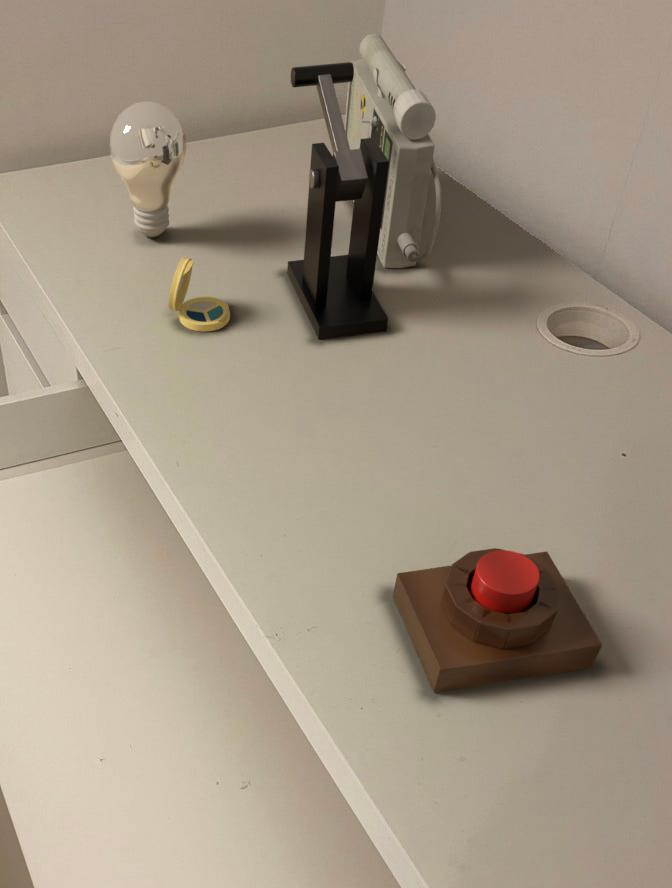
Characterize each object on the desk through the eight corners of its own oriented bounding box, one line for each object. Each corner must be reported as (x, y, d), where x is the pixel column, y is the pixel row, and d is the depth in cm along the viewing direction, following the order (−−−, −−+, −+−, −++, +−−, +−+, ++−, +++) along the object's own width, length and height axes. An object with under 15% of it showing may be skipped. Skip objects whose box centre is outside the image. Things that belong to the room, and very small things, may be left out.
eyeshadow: (221, 334, 83) (222, 281, 79) (166, 326, 84) (163, 272, 80) (235, 307, 86) (236, 254, 82) (181, 299, 87) (180, 246, 83)
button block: (538, 574, 64) (554, 530, 61) (592, 668, 59) (612, 624, 56) (392, 596, 63) (400, 552, 60) (433, 693, 58) (445, 650, 55)
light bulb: (153, 262, 91) (146, 127, 82) (101, 238, 94) (89, 106, 85) (203, 234, 94) (201, 101, 85) (151, 211, 97) (144, 81, 88)
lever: (288, 82, 81) (293, 58, 79) (346, 77, 82) (352, 52, 80) (318, 204, 78) (323, 182, 76) (378, 197, 79) (385, 175, 76)
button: (518, 566, 60) (525, 545, 58) (542, 609, 57) (550, 589, 56) (461, 574, 59) (467, 554, 58) (483, 618, 57) (490, 598, 56)
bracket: (287, 273, 89) (295, 127, 80) (350, 266, 90) (366, 120, 80) (318, 339, 82) (331, 187, 72) (386, 331, 83) (409, 179, 73)
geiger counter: (341, 22, 92) (408, 135, 75) (408, 18, 92) (489, 129, 76) (329, 173, 102) (386, 300, 86) (389, 168, 102) (456, 294, 86)
